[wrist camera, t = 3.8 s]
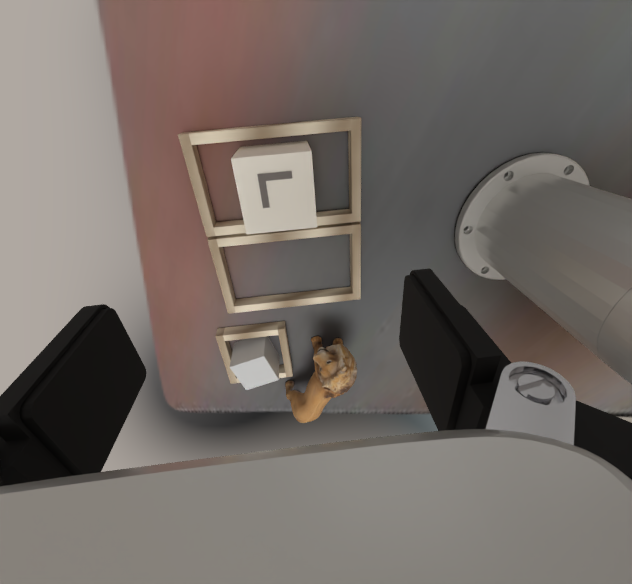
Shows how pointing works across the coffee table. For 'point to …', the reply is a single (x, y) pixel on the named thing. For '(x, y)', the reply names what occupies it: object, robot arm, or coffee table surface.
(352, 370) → the lion figurine
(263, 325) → the small box
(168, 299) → the coffee table surface
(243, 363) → the grey block
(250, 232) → the letter cube
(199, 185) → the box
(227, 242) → the middle box
